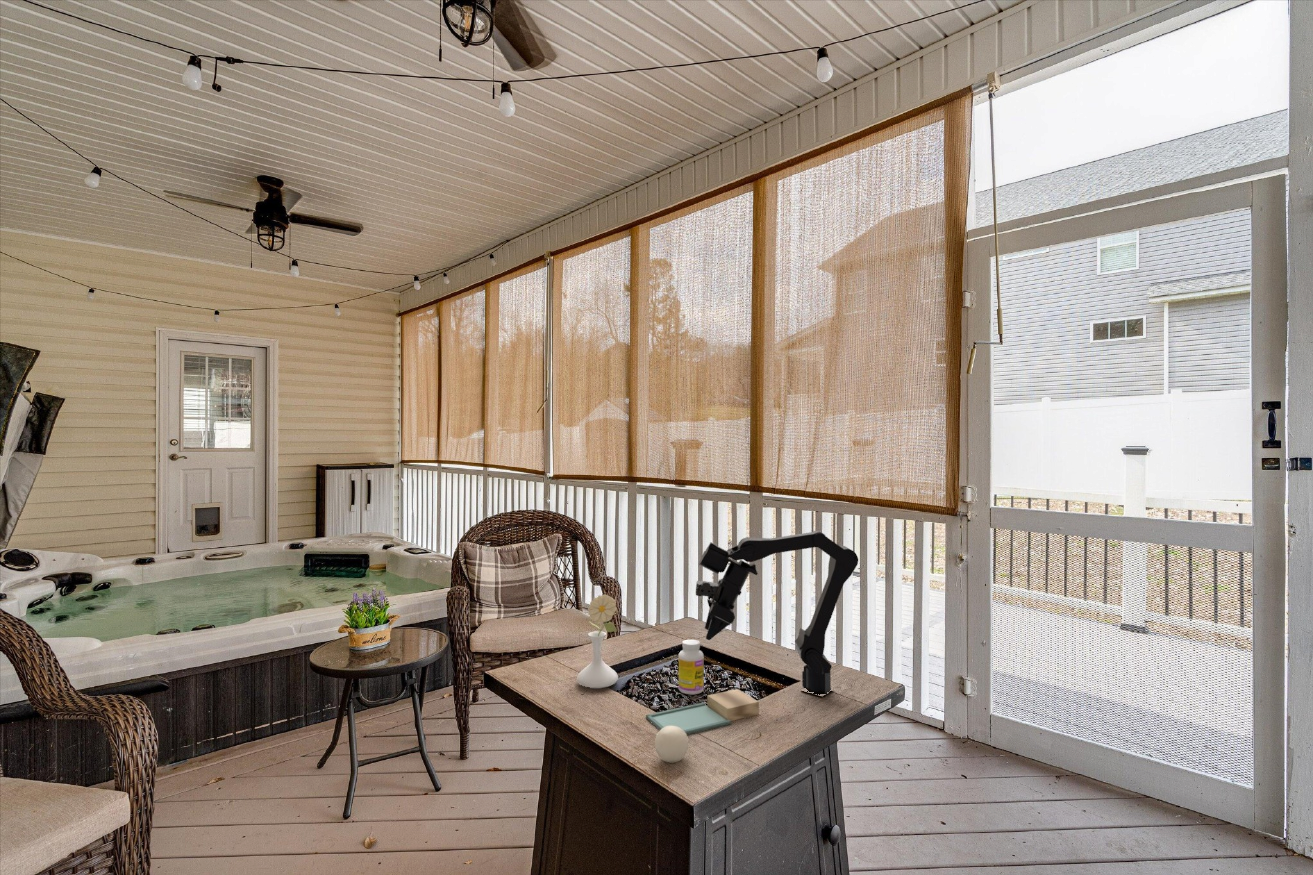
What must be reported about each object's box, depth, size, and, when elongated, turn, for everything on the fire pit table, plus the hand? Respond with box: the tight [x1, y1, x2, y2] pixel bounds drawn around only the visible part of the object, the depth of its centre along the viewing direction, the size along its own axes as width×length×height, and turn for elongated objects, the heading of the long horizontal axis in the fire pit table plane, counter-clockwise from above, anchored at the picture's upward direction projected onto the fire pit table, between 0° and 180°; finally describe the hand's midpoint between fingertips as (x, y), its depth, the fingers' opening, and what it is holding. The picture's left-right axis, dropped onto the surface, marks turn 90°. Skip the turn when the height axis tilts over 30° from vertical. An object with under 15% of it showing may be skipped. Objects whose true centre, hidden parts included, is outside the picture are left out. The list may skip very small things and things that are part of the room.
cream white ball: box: [654, 726, 690, 763], centre depth 127 cm, size 7×7×7 cm
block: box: [706, 688, 760, 722], centre depth 151 cm, size 9×9×3 cm
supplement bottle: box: [678, 639, 705, 696], centre depth 164 cm, size 7×7×13 cm
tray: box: [645, 702, 731, 736], centre depth 145 cm, size 16×12×1 cm
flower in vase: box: [576, 593, 619, 689], centre depth 168 cm, size 13×11×25 cm
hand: (706, 634), depth 164 cm, fingers open, 9 cm apart
